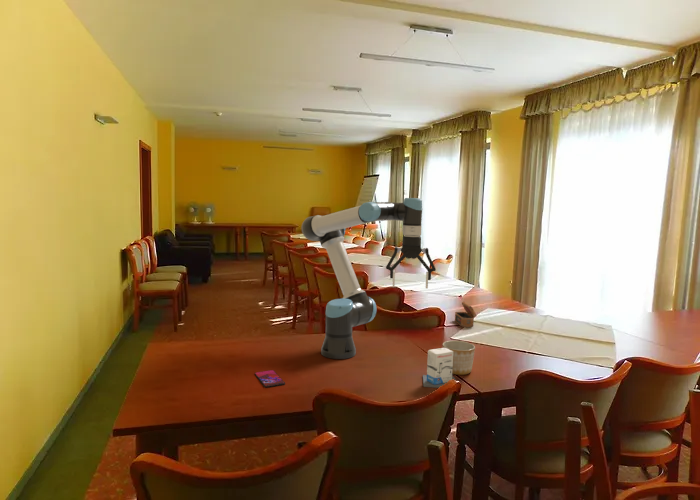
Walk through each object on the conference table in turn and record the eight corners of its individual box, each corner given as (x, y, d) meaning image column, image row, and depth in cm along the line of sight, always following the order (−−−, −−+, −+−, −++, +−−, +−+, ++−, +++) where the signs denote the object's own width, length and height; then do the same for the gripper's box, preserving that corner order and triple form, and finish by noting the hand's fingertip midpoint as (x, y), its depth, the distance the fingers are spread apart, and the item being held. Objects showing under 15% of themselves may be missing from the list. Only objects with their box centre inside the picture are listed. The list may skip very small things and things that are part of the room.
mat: (423, 386, 169) (423, 385, 169) (422, 376, 179) (422, 374, 179) (457, 389, 167) (457, 387, 167) (454, 378, 177) (454, 377, 177)
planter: (439, 364, 192) (440, 339, 191) (469, 365, 192) (471, 340, 191) (444, 375, 180) (445, 349, 179) (477, 377, 179) (478, 350, 178)
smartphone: (273, 369, 181) (285, 383, 168) (273, 372, 181) (285, 385, 168) (253, 372, 178) (265, 386, 165) (254, 374, 178) (265, 389, 165)
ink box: (434, 385, 169) (435, 354, 168) (426, 380, 173) (427, 350, 172) (452, 381, 173) (454, 350, 172) (444, 376, 177) (445, 347, 176)
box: (432, 318, 269) (432, 298, 268) (478, 317, 272) (479, 298, 271) (447, 331, 242) (448, 309, 240) (498, 331, 245) (500, 309, 243)
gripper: (380, 235, 187) (379, 287, 190) (443, 237, 184) (441, 290, 187) (381, 234, 195) (380, 284, 197) (442, 236, 192) (440, 286, 194)
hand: (410, 287), depth 192 cm, fingers open, 13 cm apart
